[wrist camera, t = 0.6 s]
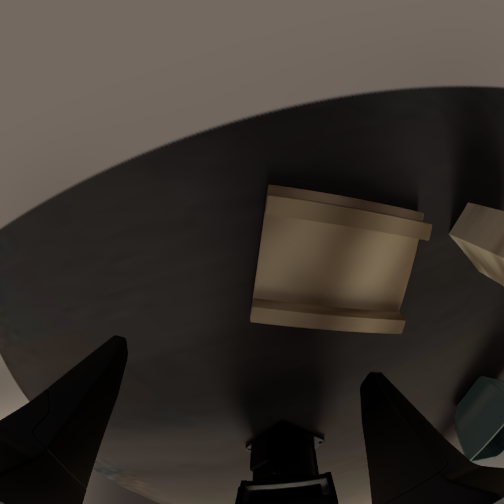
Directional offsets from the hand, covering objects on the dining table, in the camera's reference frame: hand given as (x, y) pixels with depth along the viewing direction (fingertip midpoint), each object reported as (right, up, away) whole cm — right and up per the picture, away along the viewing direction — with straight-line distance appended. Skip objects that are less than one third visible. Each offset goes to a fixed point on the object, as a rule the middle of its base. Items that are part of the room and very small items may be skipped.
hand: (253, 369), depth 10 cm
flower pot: (+29, -14, +16) cm, 36 cm away
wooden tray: (+6, +3, +12) cm, 14 cm away
